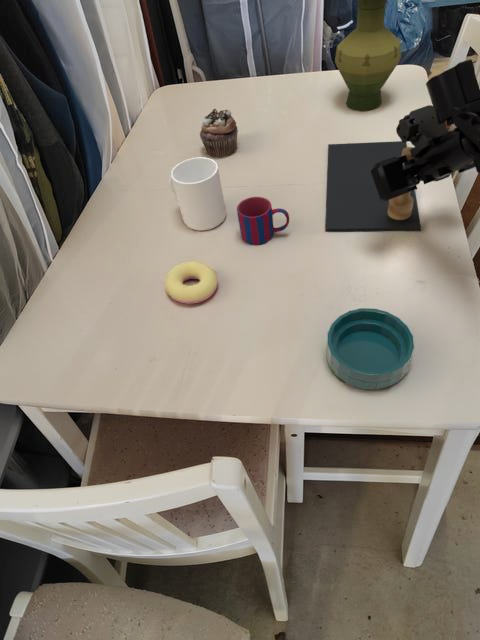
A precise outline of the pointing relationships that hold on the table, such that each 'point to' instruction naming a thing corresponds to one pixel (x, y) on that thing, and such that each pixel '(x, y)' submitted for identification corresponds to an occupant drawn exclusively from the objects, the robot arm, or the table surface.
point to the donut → (196, 291)
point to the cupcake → (219, 134)
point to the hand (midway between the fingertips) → (399, 179)
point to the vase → (367, 56)
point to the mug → (198, 193)
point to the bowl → (369, 348)
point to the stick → (401, 198)
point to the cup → (258, 220)
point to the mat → (361, 189)
